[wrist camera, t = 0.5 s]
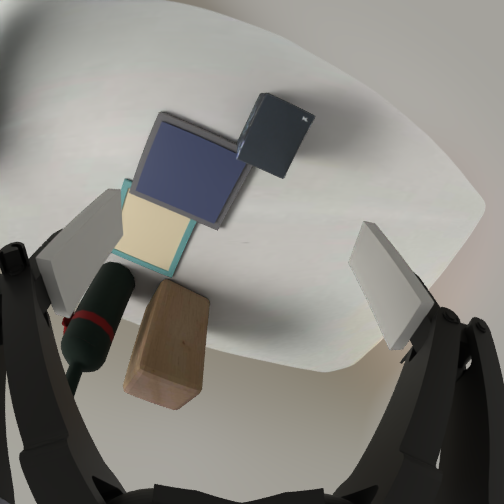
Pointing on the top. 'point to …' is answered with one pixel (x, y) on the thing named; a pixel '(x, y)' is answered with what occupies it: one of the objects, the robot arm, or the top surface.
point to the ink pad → (189, 171)
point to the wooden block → (169, 348)
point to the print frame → (151, 233)
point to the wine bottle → (95, 321)
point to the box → (273, 134)
